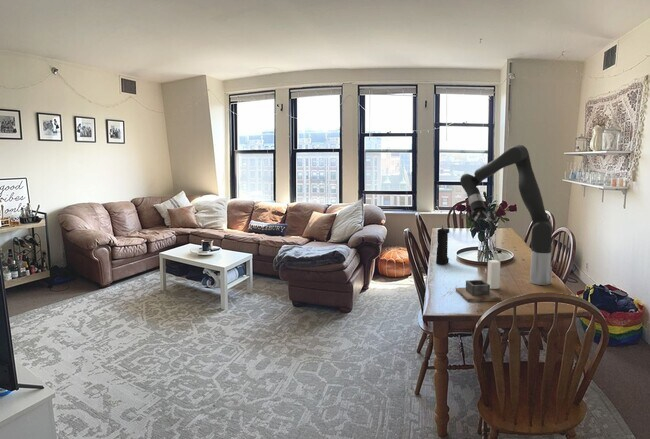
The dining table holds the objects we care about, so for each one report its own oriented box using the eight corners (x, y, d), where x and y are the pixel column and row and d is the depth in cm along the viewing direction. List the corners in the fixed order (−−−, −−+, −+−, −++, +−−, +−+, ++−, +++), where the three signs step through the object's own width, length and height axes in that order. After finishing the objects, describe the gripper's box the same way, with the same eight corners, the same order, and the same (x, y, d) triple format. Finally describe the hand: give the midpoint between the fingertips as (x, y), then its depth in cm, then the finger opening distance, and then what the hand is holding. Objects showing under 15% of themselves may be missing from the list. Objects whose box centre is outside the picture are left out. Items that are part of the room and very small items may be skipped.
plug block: (495, 285, 215) (496, 260, 213) (499, 288, 210) (500, 262, 208) (487, 285, 215) (488, 260, 213) (490, 288, 210) (491, 262, 208)
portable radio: (440, 261, 266) (441, 223, 261) (449, 262, 262) (450, 224, 258) (435, 263, 260) (435, 225, 256) (444, 265, 256) (445, 226, 252)
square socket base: (486, 289, 210) (486, 277, 208) (500, 300, 194) (501, 287, 193) (455, 290, 209) (455, 278, 208) (467, 301, 193) (467, 288, 192)
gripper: (467, 199, 226) (474, 224, 217) (491, 199, 227) (500, 224, 218) (462, 207, 232) (469, 231, 223) (485, 207, 233) (494, 231, 225)
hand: (484, 228), depth 221 cm, fingers open, 8 cm apart
